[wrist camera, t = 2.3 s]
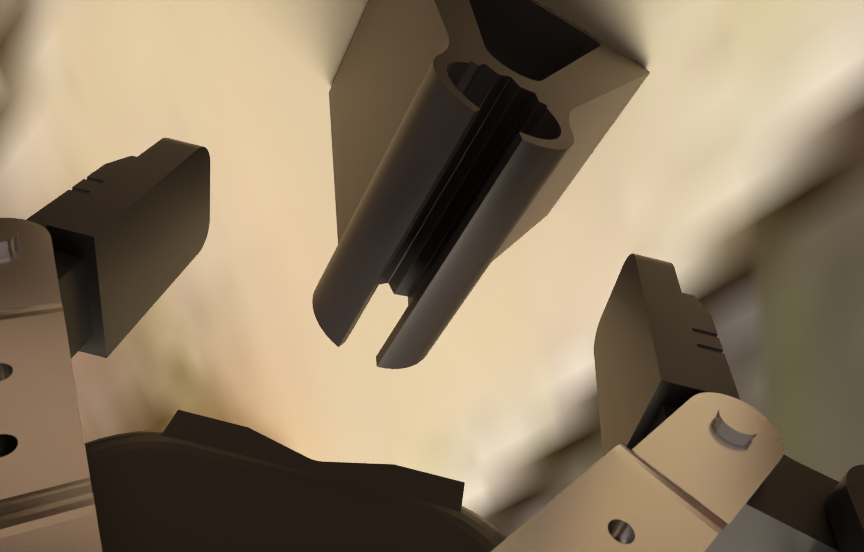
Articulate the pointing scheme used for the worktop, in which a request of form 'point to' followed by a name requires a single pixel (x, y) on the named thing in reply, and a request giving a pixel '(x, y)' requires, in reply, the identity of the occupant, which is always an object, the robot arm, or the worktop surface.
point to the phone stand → (454, 150)
